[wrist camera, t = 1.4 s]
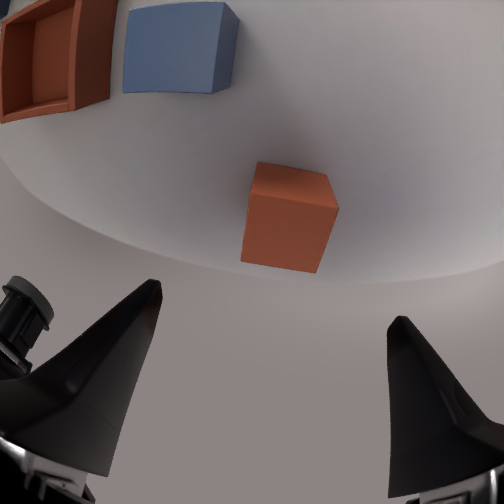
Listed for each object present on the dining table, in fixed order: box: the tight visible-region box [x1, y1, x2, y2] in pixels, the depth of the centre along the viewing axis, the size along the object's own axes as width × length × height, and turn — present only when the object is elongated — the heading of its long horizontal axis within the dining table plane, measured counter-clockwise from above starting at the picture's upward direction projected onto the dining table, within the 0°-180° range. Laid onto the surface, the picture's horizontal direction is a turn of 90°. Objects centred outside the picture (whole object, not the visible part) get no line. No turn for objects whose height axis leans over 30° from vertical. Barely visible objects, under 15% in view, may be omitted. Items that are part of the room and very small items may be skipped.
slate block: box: [122, 2, 240, 94], centre depth 9 cm, size 4×4×4 cm
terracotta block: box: [241, 162, 339, 273], centre depth 14 cm, size 4×4×4 cm
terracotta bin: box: [0, 0, 118, 124], centre depth 9 cm, size 8×8×3 cm
